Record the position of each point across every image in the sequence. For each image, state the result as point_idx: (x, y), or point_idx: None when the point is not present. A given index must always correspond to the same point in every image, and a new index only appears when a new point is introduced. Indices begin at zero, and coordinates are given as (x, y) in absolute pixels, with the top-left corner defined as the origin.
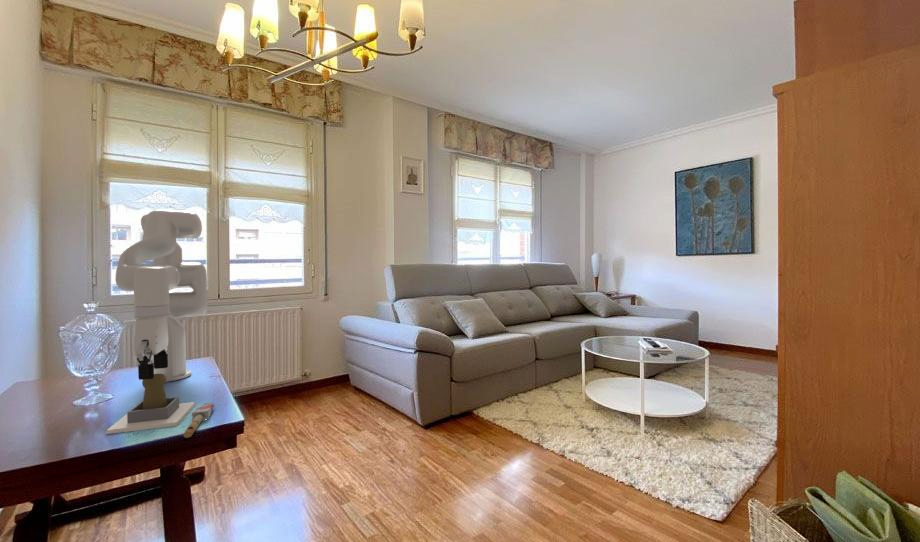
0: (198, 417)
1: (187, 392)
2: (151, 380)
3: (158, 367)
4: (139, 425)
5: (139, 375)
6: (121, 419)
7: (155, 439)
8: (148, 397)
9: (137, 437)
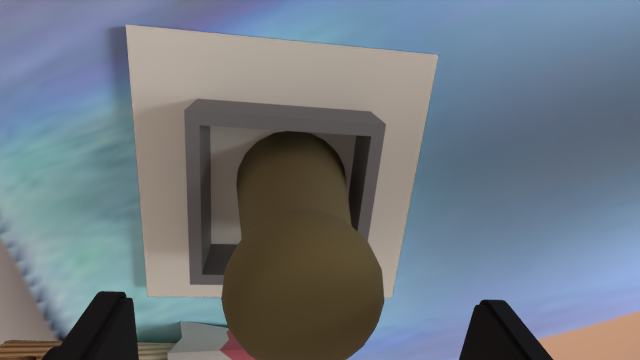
0: None
1: (601, 216)
2: (224, 312)
3: (472, 335)
4: (149, 162)
5: (82, 324)
6: (272, 48)
7: (15, 250)
8: (244, 217)
9: (54, 177)
